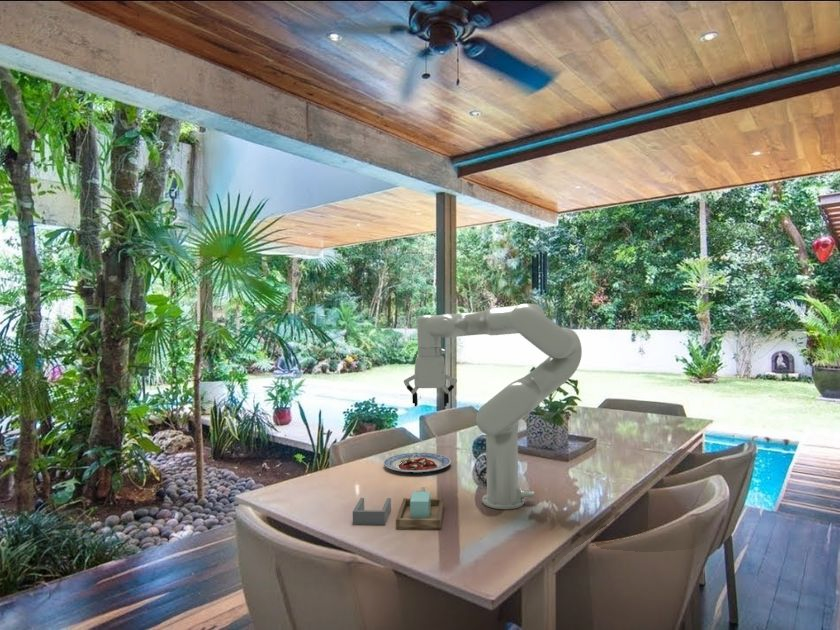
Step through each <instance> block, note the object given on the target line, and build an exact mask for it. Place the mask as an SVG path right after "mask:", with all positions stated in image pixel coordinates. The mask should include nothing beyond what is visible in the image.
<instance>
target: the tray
mask: <svg viewBox="0 0 840 630" xmlns="http://www.w3.org/2000/svg"><path fill="white" fill-rule="evenodd" d="M410 500H411V498H410V497H409V498H407V497H403V499H402V501H401V505H400V507H399V510H398V512H397V516H396V518H395V529H396V530H436V529H437V531H438V530H441V528H442V522H443V514H444V498H432V497H431V515H430V519H421V518H410Z"/></svg>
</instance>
